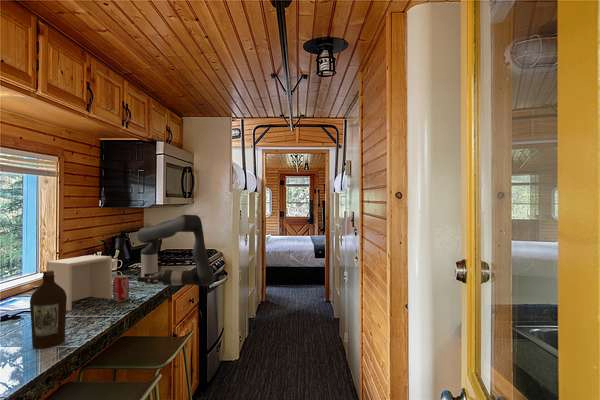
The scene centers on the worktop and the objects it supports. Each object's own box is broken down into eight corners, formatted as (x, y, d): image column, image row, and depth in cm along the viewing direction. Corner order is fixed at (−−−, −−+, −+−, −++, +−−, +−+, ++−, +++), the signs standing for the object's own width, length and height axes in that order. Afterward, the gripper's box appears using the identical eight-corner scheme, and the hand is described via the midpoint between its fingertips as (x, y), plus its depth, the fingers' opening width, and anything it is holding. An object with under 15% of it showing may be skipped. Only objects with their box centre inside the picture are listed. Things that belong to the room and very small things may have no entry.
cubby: (47, 307, 173) (46, 261, 173) (90, 295, 194) (90, 254, 194) (69, 310, 167) (68, 263, 167) (111, 298, 188) (111, 256, 188)
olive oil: (34, 340, 132) (34, 270, 132) (69, 335, 136) (69, 267, 136) (26, 351, 122) (25, 275, 122) (63, 346, 126) (63, 272, 126)
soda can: (130, 298, 188) (130, 274, 188) (126, 301, 182) (126, 277, 182) (115, 298, 187) (115, 275, 187) (111, 302, 180) (110, 277, 180)
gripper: (178, 267, 192) (146, 267, 192) (169, 273, 178) (135, 273, 178) (178, 281, 193) (146, 281, 192) (169, 288, 178) (135, 288, 178)
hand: (141, 277), depth 185 cm, fingers open, 8 cm apart
